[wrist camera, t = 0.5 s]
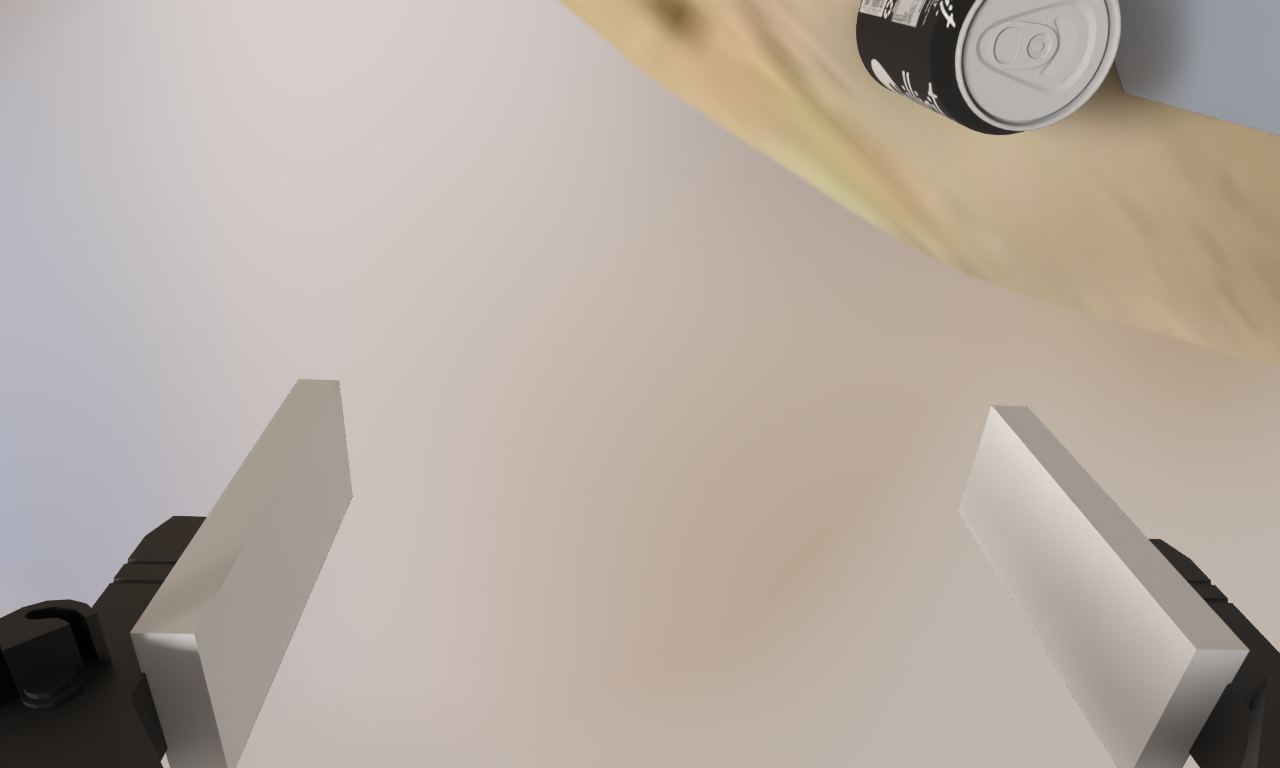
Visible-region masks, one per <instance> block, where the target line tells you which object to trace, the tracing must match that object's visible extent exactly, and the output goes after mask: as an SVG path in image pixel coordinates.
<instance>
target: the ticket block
mask: <svg viewBox="0 0 1280 768" xmlns="http://www.w3.org/2000/svg"><path fill="white" fill-rule="evenodd" d="M1118 2H1119V6H1120V13H1121V35H1120V41H1119V46H1118V50H1117V53H1116V56H1115V59H1114V63H1115V66H1116V69H1117V72H1118V75H1119V78H1120V80H1121V83H1122V86H1123V89H1124V92H1125V93H1127V94H1130V95H1134V96H1138V97H1141V98H1145V99H1148V100H1152V101H1156V102H1159V103H1163V104H1166V105H1170V106H1174V107H1177V108H1181V109H1185V110H1188V111H1192V112H1195V113H1199V114H1203V115H1206V116H1210V117H1213V118H1217V119H1221V120H1224V121H1228V122H1232V123H1235V124H1239V125H1242V126H1246V127H1250V128H1253V129H1257V130H1260V131H1264V132H1268V133H1271V134H1275V135H1279V136H1280V0H1118Z"/></svg>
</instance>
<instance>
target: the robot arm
mask: <svg viewBox="0 0 1280 768" xmlns="http://www.w3.org/2000/svg"><path fill="white" fill-rule="evenodd" d="M352 497H353V496H352V487H351V478H350V470H349V461H348V453H347V444H346V435H345V427H344V419H343V410H342V401H341V392H340V384H339V381H334V380H308V379H298V381H297V382H296V384H295V386H294V387H293V388H292V390H291V392H290V393H289V394H288V396H287V397H286V399H285V400H284V402H283V403H282V405H281V407H280V408H279V410H278V411H277V412H276V414H275V415H274V417H273V418H272V420H271V421H270V423H269V424H268V426H267V427H266V429H265V431H264V432H263V433H262V435H261V437H260V438H259V440H258V441H257V442H256V444H255V445H254V447H253V449H252V450H251V451H250V453H249V454H248V456H247V458H246V459H245V461H244V462H243V464H242V465H241V467H240V468H239V470H238V471H237V473H236V474H235V476H234V477H233V479H232V480H231V482H230V483H229V485H228V486H227V488H226V489H225V491H224V492H223V494H222V495H221V497H220V498H219V500H218V501H217V503H216V504H215V506H214V507H213V509H212V510H211V512H210V513H209V515H208V516H207V517H195V516H173V517H172V518H170V519H169V520H167V521H166V522H164V523H163V524H162V525H160V526H159V527H157V528H156V529H155V530H153V531H152V532H150V533H149V534H147V535H146V536H145V537H144V538H143V540H142V541H141V543H140V544H139V545H138V547H137V548H136V549H135V551H134V552H133V553H132V554H131V556H130V557H129V558H128V563H127V564H124V565H123V567H122V568H121V569H120V571H119V572H118V573H117V575H116V576H115V577H114V582H113V583H110V584H109V585H108V587H107V588H106V589H105V591H104V592H103V594H102V595H101V596H100V597H99V599H98V600H97V601H96V603H95V604H94V605H93V607H92V608H91V607H90V606H89V605H87V604H86V603H82V602H77V601H73V600H52V601H44V602H41V603H37V604H34V605H30V606H26V607H22V608H21V609H18V610H16V611H14V612H12V613H10V614H8V615H6V616H4V617H2V618H0V768H163V766H162V764H161V760H162V758H163V756H164V754H165V752H166V755H167V759H168V762H169V765H170V768H236V766H237V763H238V761H239V759H240V756H241V754H242V752H243V749H244V747H245V745H246V743H247V740H248V738H249V736H250V733H251V731H252V728H253V726H254V724H255V721H256V719H257V717H258V715H259V712H260V710H261V708H262V705H263V703H264V701H265V698H266V696H267V694H268V691H269V689H270V687H271V684H272V682H273V680H274V678H275V675H276V673H277V671H278V668H279V666H280V664H281V661H282V659H283V656H284V654H285V652H286V650H287V647H288V645H289V643H290V640H291V638H292V636H293V633H294V631H295V629H296V626H297V624H298V622H299V620H300V617H301V615H302V612H303V610H304V608H305V606H306V603H307V601H308V599H309V596H310V594H311V592H312V589H313V587H314V585H315V582H316V580H317V578H318V575H319V573H320V571H321V568H322V566H323V564H324V562H325V559H326V557H327V555H328V552H329V550H330V548H331V545H332V543H333V541H334V538H335V536H336V534H337V531H338V529H339V527H340V524H341V522H342V520H343V517H344V515H345V513H346V510H347V508H348V506H349V503H350V501H351V499H352ZM958 514H959V515H960V517H961V518H962V520H963V522H964V523H965V525H966V526H967V528H968V530H969V531H970V533H971V534H972V536H973V537H974V539H975V541H976V542H977V544H978V546H979V547H980V549H981V550H982V552H983V553H984V555H985V557H986V558H987V560H988V561H989V563H990V565H991V566H992V568H993V570H994V571H995V573H996V574H997V576H998V578H999V579H1000V580H1001V582H1002V584H1003V586H1004V587H1005V589H1006V590H1007V592H1008V594H1009V595H1010V597H1011V598H1012V600H1013V602H1014V603H1015V605H1016V606H1017V608H1018V610H1019V611H1020V613H1021V614H1022V616H1023V618H1024V619H1025V621H1026V622H1027V624H1028V625H1029V627H1030V629H1031V630H1032V632H1033V634H1034V635H1035V637H1036V638H1037V640H1038V641H1039V643H1040V645H1041V646H1042V648H1043V650H1044V651H1045V653H1046V654H1047V656H1048V658H1049V659H1050V661H1051V662H1052V664H1053V666H1054V667H1055V669H1056V670H1057V672H1058V673H1059V675H1060V677H1061V678H1062V680H1063V681H1064V683H1065V685H1066V686H1067V688H1068V689H1069V691H1070V693H1071V694H1072V696H1073V698H1074V699H1075V701H1076V702H1077V704H1078V706H1079V707H1080V709H1081V710H1082V712H1083V713H1084V715H1085V717H1086V718H1087V720H1088V721H1089V723H1090V725H1091V726H1092V728H1093V729H1094V731H1095V733H1096V734H1097V736H1098V738H1099V739H1100V741H1101V742H1102V744H1103V745H1104V747H1105V749H1106V750H1107V752H1108V753H1109V755H1110V757H1111V758H1112V760H1113V761H1114V763H1115V764H1116V766H1117V768H1182V767H1183V766H1184V764H1185V762H1186V761H1187V759H1188V757H1189V755H1190V754H1191V756H1192V757H1193V759H1194V760H1195V761H1196V763H1197V764H1198V765H1199V767H1200V768H1280V653H1279V652H1278V651H1277V650H1276V649H1275V648H1274V647H1273V646H1272V645H1271V644H1270V642H1269V641H1268V640H1267V639H1266V638H1265V637H1264V636H1263V635H1262V634H1261V633H1260V632H1259V631H1258V630H1257V629H1256V628H1255V627H1254V626H1253V625H1252V624H1251V622H1250V621H1249V620H1248V619H1246V617H1245V616H1244V615H1243V614H1242V613H1241V612H1240V611H1239V610H1238V609H1237V608H1236V607H1235V606H1234V605H1233V604H1232V603H1228V598H1227V597H1226V596H1225V595H1224V594H1223V593H1222V592H1221V591H1220V590H1219V589H1218V588H1217V587H1216V586H1215V585H1211V580H1210V579H1209V578H1208V577H1207V576H1206V575H1205V574H1204V573H1203V572H1202V571H1201V570H1200V569H1199V568H1198V567H1197V566H1196V565H1195V564H1194V563H1193V561H1192V560H1191V559H1190V558H1188V557H1186V556H1185V555H1183V554H1182V553H1180V552H1179V551H1177V550H1176V549H1174V548H1173V547H1171V546H1170V545H1168V544H1167V543H1165V542H1164V541H1162V540H1161V539H1148V538H1147V537H1146V536H1145V535H1144V534H1143V533H1142V532H1141V531H1140V529H1139V528H1138V527H1137V526H1136V525H1135V524H1134V523H1133V522H1132V521H1131V520H1130V519H1129V517H1128V516H1127V515H1126V514H1125V513H1124V512H1123V511H1122V510H1121V509H1120V508H1119V506H1118V505H1117V504H1116V503H1115V502H1114V501H1113V500H1112V499H1111V498H1110V497H1109V495H1108V494H1107V493H1106V492H1105V491H1104V490H1103V489H1102V488H1101V487H1100V486H1099V485H1098V483H1097V482H1096V481H1095V480H1094V479H1093V478H1092V477H1091V476H1090V475H1089V474H1088V473H1087V471H1086V470H1085V469H1084V468H1083V467H1082V466H1081V465H1080V464H1079V463H1078V462H1077V460H1076V459H1075V458H1074V457H1073V456H1072V455H1071V454H1070V453H1069V452H1068V451H1067V449H1066V448H1065V447H1064V446H1063V445H1062V444H1061V443H1060V442H1059V441H1058V440H1057V438H1055V436H1054V435H1053V434H1052V433H1051V432H1050V431H1049V430H1048V429H1047V428H1046V426H1045V425H1044V424H1043V423H1042V422H1041V421H1040V420H1039V419H1038V418H1037V417H1036V416H1035V414H1034V413H1033V412H1032V411H1031V410H1030V409H1029V408H1028V407H1024V406H1022V407H1021V406H997V405H996V406H995V405H992V406H991V409H990V413H989V415H988V419H987V422H986V425H985V429H984V432H983V435H982V438H981V441H980V444H979V448H978V451H977V454H976V457H975V461H974V464H973V467H972V470H971V473H970V477H969V480H968V483H967V486H966V489H965V493H964V496H963V499H962V502H961V506H960V509H959V512H958Z"/></svg>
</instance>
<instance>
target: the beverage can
mask: <svg viewBox="0 0 1280 768" xmlns="http://www.w3.org/2000/svg"><path fill="white" fill-rule="evenodd" d="M1120 35H1121V13H1120V6H1119V2H1118V0H862V2H861V5H860V8H859V12H858V17H857V25H856V38H857V45H858V50H859V54H860V57H861V59H862V62H863V64H864V66H865V67H866V69H867V70H868V72H869V73H870V75H871V76H872V77H873V78H874V79H875V80H876V81H877V82H878V83H879V84H881V85H882V86H884V87H885V88H887V89H889V90H891V91H893V92H895V93H897V94H899V95H901V96H903V97H905V98H907V99H910V100H912V101H914V102H916V103H918V104H920V105H922V106H924V107H926V108H928V109H930V110H932V111H934V112H937V113H939V114H941V115H943V116H945V117H947V118H949V119H951V120H953V121H955V122H957V123H959V124H961V125H963V126H966V127H968V128H970V129H972V130H975V131H978V132H981V133H985V134H993V135H1008V134H1014V133H1019V132H1024V131H1029V130H1036V129H1040V128H1043V127H1047V126H1050V125H1052V124H1054V123H1057V122H1059V121H1061V120H1062V119H1064V118H1066V117H1068V116H1069V115H1071V114H1072V113H1074V112H1075V111H1076V110H1077V109H1079V108H1080V107H1081V106H1082V105H1083V104H1085V103H1086V102H1087V101H1088V99H1089V98H1090V97H1091V96H1092V95H1093V94H1094V93H1095V92H1096V91H1097V89H1098V88H1099V86H1100V85H1101V84H1102V82H1103V81H1104V79H1105V77H1106V76H1107V74H1108V72H1109V70H1110V68H1111V66H1112V64H1113V61H1114V59H1115V56H1116V53H1117V50H1118V46H1119V41H1120Z"/></svg>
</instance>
